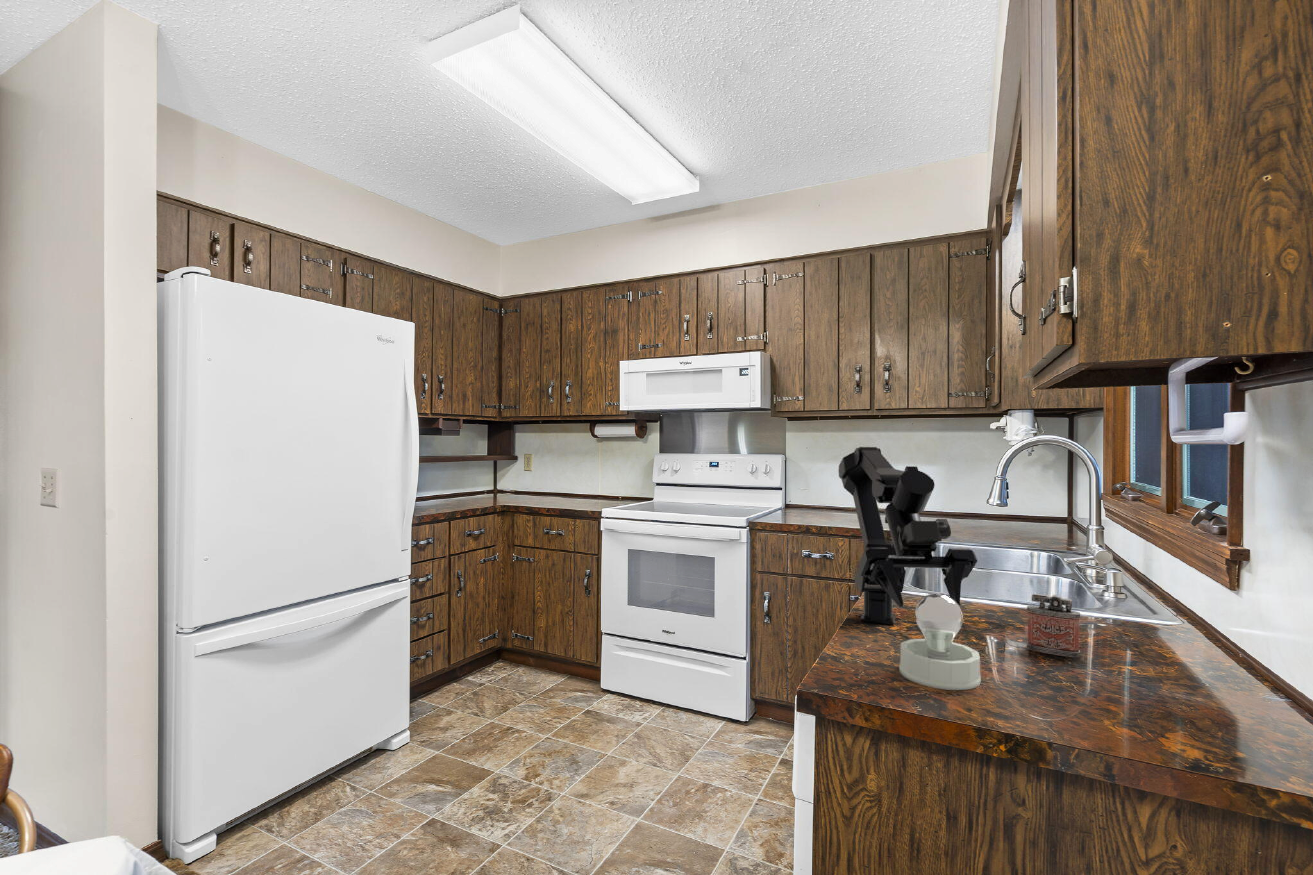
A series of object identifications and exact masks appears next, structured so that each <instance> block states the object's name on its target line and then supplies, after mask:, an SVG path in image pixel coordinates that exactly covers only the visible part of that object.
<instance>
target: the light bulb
mask: <svg viewBox="0 0 1313 875" xmlns="http://www.w3.org/2000/svg"><path fill="white" fill-rule="evenodd" d="M914 611H915V612H914V615H915V620H916V621H915V622H916V624H917V626H918V628H919V630H920V631H921V632H922V634H923V636H924V639H925V643H926V646H927V647H928V649H927V652H928V653H927V656H928V657H927V658H931V659H938V660H945V661H950V660H949V659H950V657H949V655H950V653H949V650H950V649H951V647H952V642H953V641H954V639H955V637H956V636H957V634H958V633H959V631H960V629H961V628H962V626H963V621H964V619H963V612H962V610H961V607H960V606H959V605H958V604H957V603H956V601H954V600H953V599H952V598H951V597H950V595H947V594H944V593H942V592H941V593H940V592H933V593H932V592H931V593H929V594H926V595H925V596H923V597H922V598H921V599H920V600H919V601H918V603H917V605H916V606H915V610H914Z"/></svg>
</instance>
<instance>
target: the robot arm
mask: <svg viewBox="0 0 1313 875" xmlns="http://www.w3.org/2000/svg"><path fill="white" fill-rule="evenodd" d="M838 478H839V479H841V482H842V485H843V488H844V489H845V490H846V491H847V492H848V493H849V494H850V495H851V496H852V497H853V501H854V507H855V511H856V515H857V520H858V525H859V530H860V534H861V538H862V543H863V548H864V550H863V552H862V555H861V557H860V559H859V560H860V561H859V562H858V563H859V564H858V566H857V569H856V571H855V575H854V585H855V588H856V589H857V590H858V591H860V592H863V611H862V613H861V616H860V621H862V622H867V623H876V624H877V623H878V624H886V625H894V624H895V620H896V614H894V613H893V612H894V611H893V610H894V607H893V606H894V605H893V603H895V604H896V605H897V606H898V607H899V608H902V607H903V605H904V601H903V594H902V593H903V590H904V586H905V579H906V572H907V570H906V569H905V568H908V569H941V572H942V575H943V576H945V577H944V579H943V583H944V586H945V587H946V590H947V593H948V596H949V597H951V598H952V599H953V600H954V601H956V603H957V604H958V605H959V607H960V606H961V588H962V581H963V580H964V579H966V578H968V577H969V575H970V574H971V572H972V571H973V570H974V567H975V566H976V564H977V563H978V558H977V556H976V554H975V553H976V552H974V551H973V549H970V548H955V547H953V548H951V547H950V548H948V550H947V551H946V553H945V555H944V556H938V555H937V556H936V555H935V556H934V555H933V554H932V553H933V552H934V553H935V552H936V550H937V549H938V546H937V544H936V543H938V542H942V540H946V539H948V538H950V537H951V536H952V531H951V530H952V529H951V526H950V523H949V521H948V519H947V518H936V520H921V516H920V513H922V512H924V511H925V509H926V507H927V504H928V502H929V500H930V498H931V496H932V493H933V491H934V489H935V480H934V479H933V478H932V477H931V476H930V475H928V474H927V473H925V472H923V471H921V470H919V468H918V466H917V465H916V466H912V465H911V466H910V465H909V466H907V465H906V466H905V468H904V470H900V469H896V468H895V467H893V465H892V464H891V463H890V462H889V461H888V459H887V458H885V456H884V455H883V454H882V450H881V448H879V447H876V446H859V447H856V448H855V450H854V451H853V452H851V453H850V454H847V455H845V456H843V457H842V459H841V461H840V463H839V465H838ZM878 504H887V505H886V507H885V509H884V515H885V516H884V523H885V524H887V525H888V529H889V532H890V536H891V541H890V543H889V542H888V541H887V538H886V534H885V530H884V526H883V523H882V522H883V521H882V518H881V513H880V510H879V507H878Z"/></svg>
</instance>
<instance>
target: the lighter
mask: <svg viewBox="0 0 1313 875" xmlns="http://www.w3.org/2000/svg"><path fill="white" fill-rule="evenodd" d="M1031 601H1032V602H1036V603H1037V602H1038V603H1039V605H1035V604H1034V605H1031V604H1029V605H1027V606H1026V611H1027V642H1026V649H1028V650H1031V651H1034V652H1040V653H1044V654H1048V655H1049V654H1050V655H1055V656H1062V657H1070V658H1080V657H1081V650H1080V619H1081V612H1079V611H1075V610H1072V608H1073V600H1072V599H1071V598H1064V597H1061V596H1060V595H1058V594H1052V596H1048V595H1047V594H1040V593H1032V594H1031ZM1045 604H1048V605H1047V606H1046V605H1045ZM1064 606H1065V608H1064Z"/></svg>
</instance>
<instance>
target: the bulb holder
mask: <svg viewBox="0 0 1313 875" xmlns="http://www.w3.org/2000/svg"><path fill="white" fill-rule="evenodd" d="M927 649H928V647H927V646H926V643H925V638H911V639H908V640H904V641H902V642H900V661H899V663H898V664H899V665H898V666H899V670H898V671H899V673H900V674H901V676H902V677H904V678H905V679H907V680H908V681H911V682H913V683H916V684H918V685H922V686H925V687H929V688H932V689H933V688H934V689H939V690H948V691H965V690H967V691H968V690H972V689H975V688H978V687H979V686H980V684H981V682H982V680H981V657H980V654H979V651H977V650H975V649H973V648H971V647H969V646H968V645H964V644H960V643H957V642H952V647H951V649H950V650H949V653H950V655H949V657H950V659H949V660H950V661H945V660H938V659H931V658H927V657H928V656H927V653H928V652H927Z"/></svg>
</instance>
